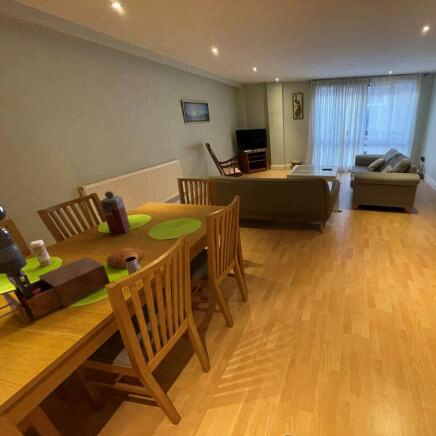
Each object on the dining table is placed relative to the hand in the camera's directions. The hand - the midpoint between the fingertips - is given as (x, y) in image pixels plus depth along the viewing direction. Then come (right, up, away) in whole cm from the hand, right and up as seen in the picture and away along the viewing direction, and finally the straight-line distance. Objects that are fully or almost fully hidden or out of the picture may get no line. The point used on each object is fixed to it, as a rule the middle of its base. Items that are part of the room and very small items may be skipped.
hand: (26, 294), depth 89 cm
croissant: (+12, +6, +37) cm, 39 cm away
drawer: (0, -7, +3) cm, 8 cm away
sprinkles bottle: (-28, +4, +34) cm, 44 cm away
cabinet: (+7, -3, +15) cm, 17 cm away
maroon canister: (-15, +19, +70) cm, 74 cm away
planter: (+25, 0, +24) cm, 35 cm away
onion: (-1, -6, +1) cm, 6 cm away
